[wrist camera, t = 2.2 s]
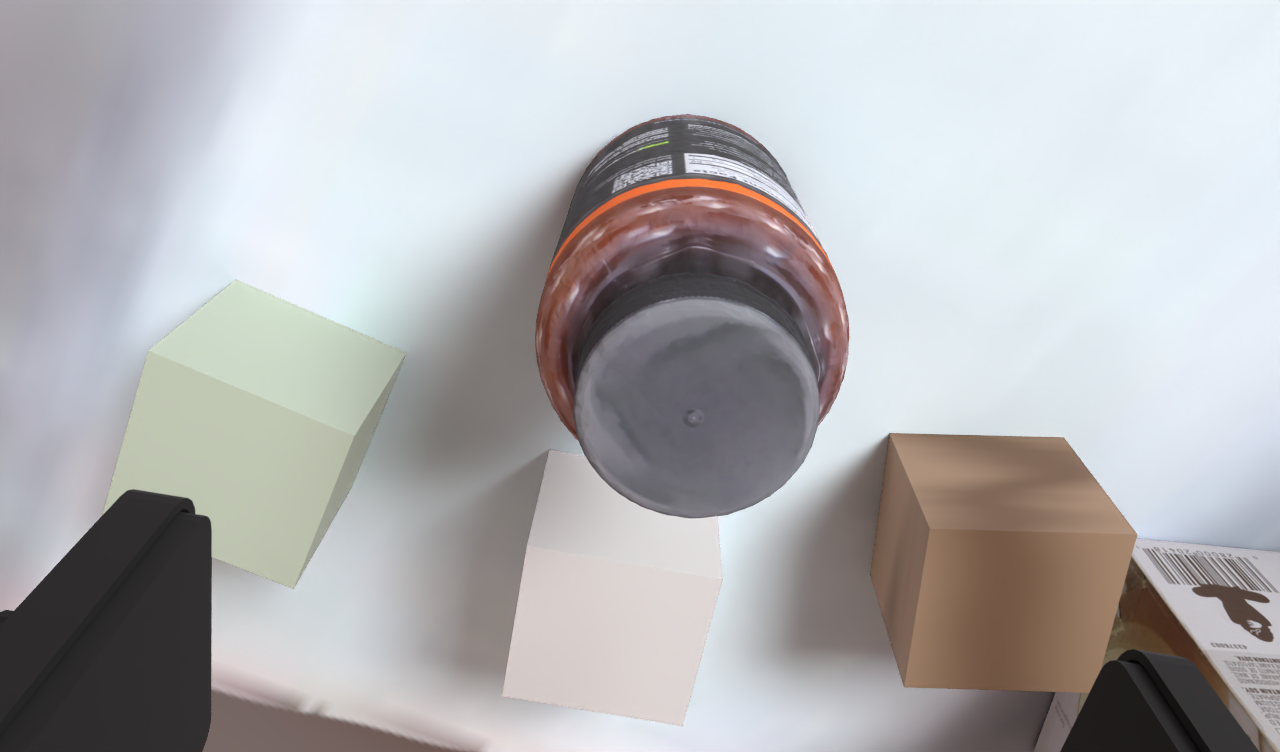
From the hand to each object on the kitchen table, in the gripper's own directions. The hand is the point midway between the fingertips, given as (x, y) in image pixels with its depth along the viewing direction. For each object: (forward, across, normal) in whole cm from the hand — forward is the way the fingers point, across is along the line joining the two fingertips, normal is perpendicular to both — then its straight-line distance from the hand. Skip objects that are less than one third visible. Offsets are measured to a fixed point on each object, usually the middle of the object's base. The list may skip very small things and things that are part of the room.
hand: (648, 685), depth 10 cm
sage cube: (+18, +9, +7) cm, 21 cm away
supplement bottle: (+17, -1, 0) cm, 17 cm away
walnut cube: (+17, -11, +7) cm, 21 cm away
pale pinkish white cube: (+17, -1, +10) cm, 20 cm away
